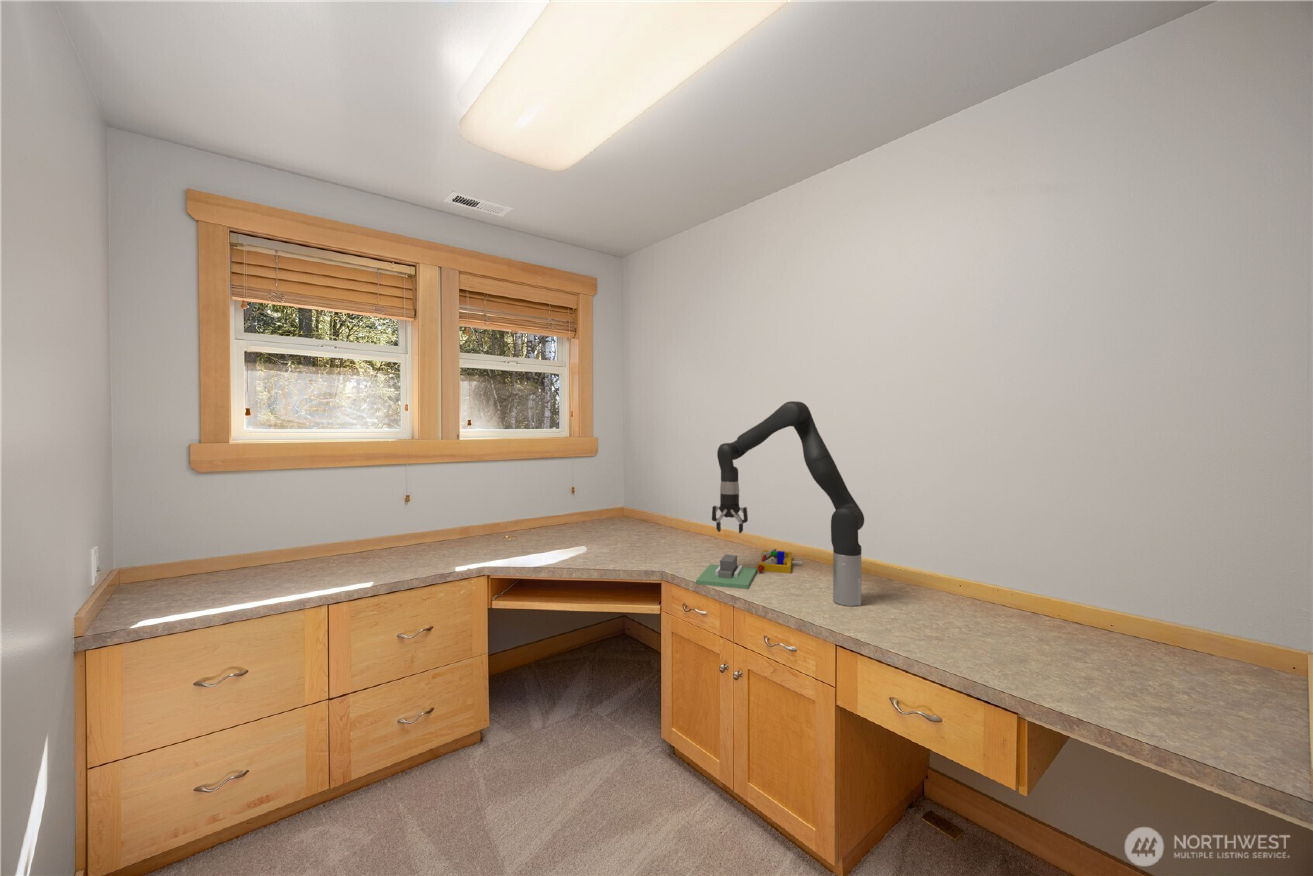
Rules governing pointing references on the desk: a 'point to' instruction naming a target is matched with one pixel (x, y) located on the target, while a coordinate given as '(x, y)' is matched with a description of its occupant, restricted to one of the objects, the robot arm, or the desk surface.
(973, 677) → the desk surface
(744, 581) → the green plate with u-rail
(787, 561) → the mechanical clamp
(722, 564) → the grey stepped block
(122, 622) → the desk surface
